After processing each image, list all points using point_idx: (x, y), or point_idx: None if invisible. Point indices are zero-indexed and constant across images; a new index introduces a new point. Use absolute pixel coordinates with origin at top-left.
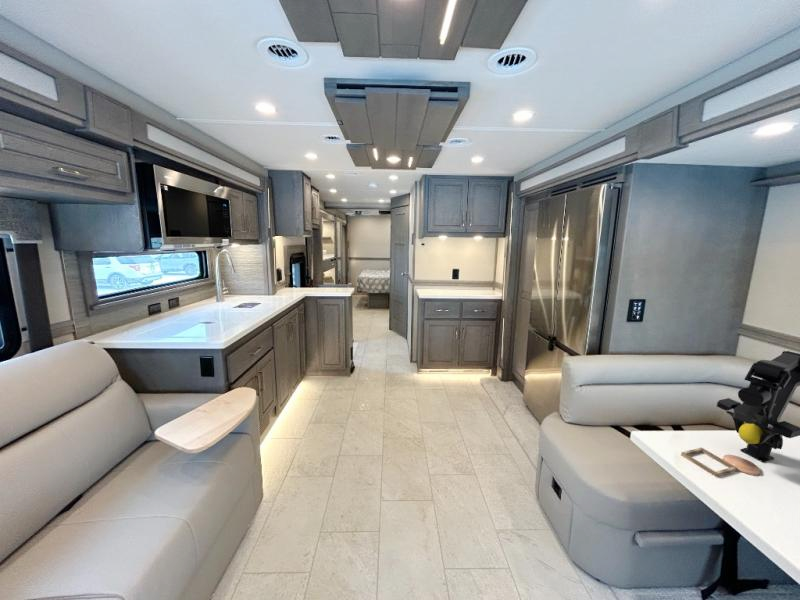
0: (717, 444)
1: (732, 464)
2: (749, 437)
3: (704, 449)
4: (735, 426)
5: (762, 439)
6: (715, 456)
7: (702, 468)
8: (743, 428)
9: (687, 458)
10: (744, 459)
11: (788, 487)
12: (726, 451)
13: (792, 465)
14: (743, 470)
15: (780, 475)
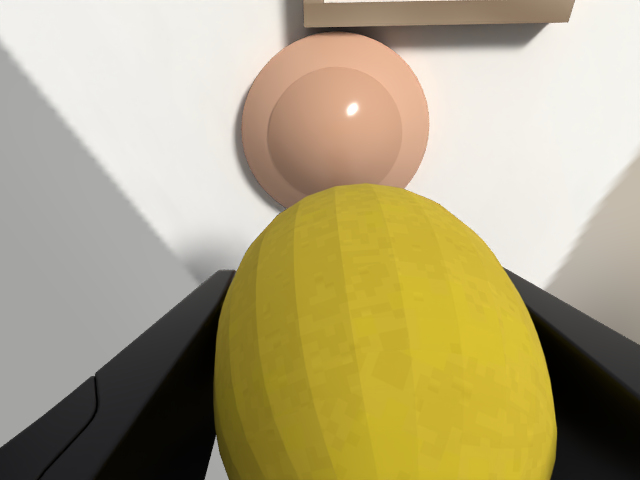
0: (500, 228)
1: (348, 53)
2: (309, 217)
3: (542, 17)
4: (589, 319)
5: (176, 321)
6: (453, 1)
7: None
8: (486, 319)
9: None
10: None
11: (140, 187)
12: (443, 206)
13: None
14: (280, 57)
15: (226, 257)
